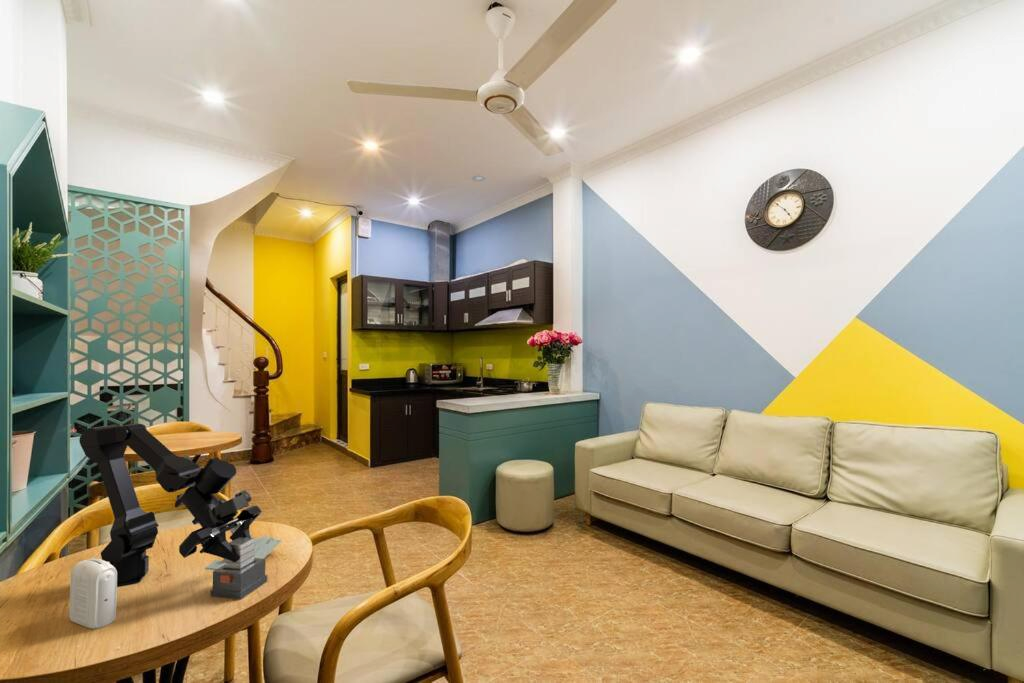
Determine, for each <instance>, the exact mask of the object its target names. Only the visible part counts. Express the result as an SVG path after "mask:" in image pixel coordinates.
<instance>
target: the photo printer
mask: <svg viewBox="0 0 1024 683" xmlns="http://www.w3.org/2000/svg"><path fill="white" fill-rule="evenodd" d="M69 583H70V586H69V611H68V613H69V614H68V615H69V616H68V617H69V620H70V621H71V622H73V623H75V624H78V625H80V626H83V627H86V628H87V629H95V630H96V629H102V628H104V627H106V626H108V625H111V623H113V621H114V620H116V616H117V593H118V586H117V571H116V569H115V567H114V566H113V565H111V564H110V562H106V561H104V560H102V558H101V559H100V558H88V559H85V560H81V561H78V562H77V563H75V565H74V566H73V568H72V569H71V571H70V582H69Z"/></svg>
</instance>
